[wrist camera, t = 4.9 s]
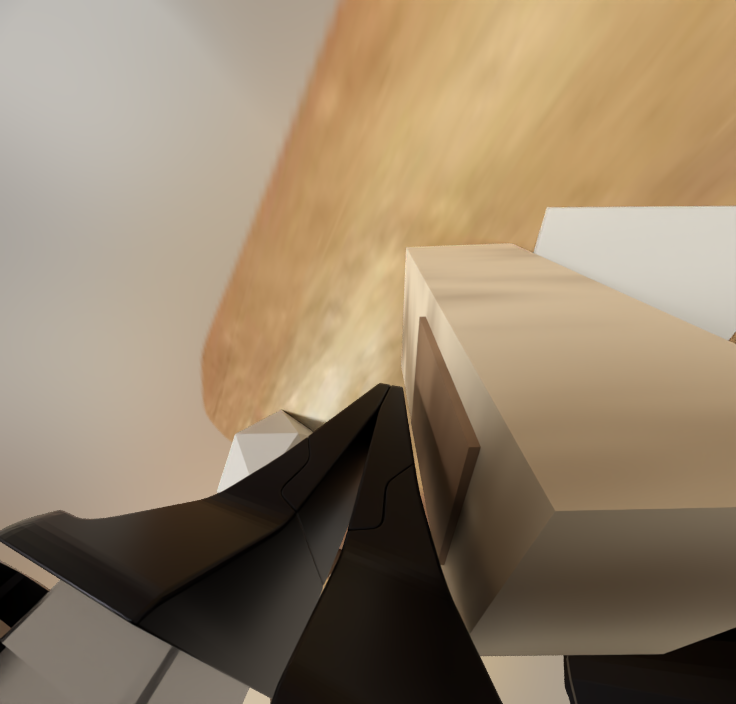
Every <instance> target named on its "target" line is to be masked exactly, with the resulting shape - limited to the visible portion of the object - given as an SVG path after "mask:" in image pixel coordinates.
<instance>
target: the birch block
mask: <svg viewBox="0 0 736 704" xmlns="http://www.w3.org/2000/svg"><path fill="white" fill-rule="evenodd" d="M401 367H402V372H403V378H404V383H405V389H406V394H407V400H408V405H409V411H410V416H411V424H412V430H413V436H414V441H415V447H416V452H417V458H418V463H419V469H420V475H421V480H422V486H423V491H424V497H425V502H426V508H427V513H428V519H429V525H430V530H431V535H432V538H433V541H434V545H435V548H436V551H437V555H438V558H439V561H440V565H441V568H442V571H443V574H444V577H445V580H446V583H447V585H448V588H449V591H450V593H451V596H452V598H453V601H454V603H455V605H456V607H457V609H458V611H459V613H460V616H461V618H462V620H463V622H464V624H465V626H466V628H467V630H468V632H469V634H470V637H471V639H472V641H473V643H474V645H475V647H476V649H477V651H478V653H479V655H480V656H537V655H626V654H665V653H667V652H670V651H673V650H675V649H678V648H681V647H684V646H686V645H689V644H692V643H695V642H697V641H700V640H703V639H705V638H708V637H711V636H714V635H716V634H719V633H722V632H725V631H727V630H730V629H733V628H735V627H736V344H734V343H732V342H730V341H728V340H726V339H723V338H721V337H719V336H717V335H714V334H712V333H710V332H708V331H706V330H703V329H701V328H699V327H697V326H694V325H692V324H690V323H688V322H686V321H683V320H681V319H679V318H677V317H674V316H672V315H670V314H668V313H666V312H663V311H661V310H659V309H657V308H655V307H652V306H650V305H648V304H646V303H643V302H641V301H639V300H637V299H635V298H632V297H630V296H628V295H626V294H623V293H621V292H619V291H617V290H615V289H612V288H610V287H608V286H606V285H603V284H601V283H599V282H597V281H595V280H592V279H590V278H588V277H586V276H583V275H581V274H579V273H577V272H575V271H572V270H570V269H568V268H566V267H563V266H561V265H559V264H557V263H555V262H552V261H550V260H548V259H546V258H543V257H541V256H539V255H537V254H535V253H532V252H530V251H528V250H526V249H523V248H521V247H519V246H517V245H515V244H512V243H505V244H478V245H451V246H425V247H406V264H405V288H404V312H403V336H402V360H401Z"/></svg>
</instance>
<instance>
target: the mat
mask: <svg viewBox="0 0 736 704" xmlns="http://www.w3.org/2000/svg"><path fill="white" fill-rule="evenodd" d="M533 253H535V254H537V255H539V256H541V257H543V258H546V259H548V260H550V261H552V262H555V263H557V264H559V265H561V266H563V267H566V268H568V269H570V270H572V271H575V272H577V273H579V274H581V275H583V276H586V277H588V278H590V279H592V280H595V281H597V282H599V283H601V284H603V285H606V286H608V287H610V288H612V289H615V290H617V291H619V292H621V293H623V294H626V295H628V296H630V297H632V298H635V299H637V300H639V301H641V302H643V303H646V304H648V305H650V306H652V307H655V308H657V309H659V310H661V311H663V312H666V313H668V314H670V315H672V316H674V317H677V318H679V319H681V320H683V321H686V322H688V323H690V324H692V325H694V326H697V327H699V328H701V329H703V330H706V331H708V332H710V333H712V334H714V335H717V336H719V337H721V338H723V339H726V340H729V339H730V338H731V337H732V335H733V334H734V333H735V332H736V206H646V207H547V208H546V211H545V215H544V218H543V222H542V225H541V228H540V232H539V235H538V239H537V242H536V245H535V249H534V252H533Z"/></svg>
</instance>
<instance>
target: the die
mask: <svg viewBox="0 0 736 704" xmlns="http://www.w3.org/2000/svg"><path fill="white" fill-rule="evenodd" d="M312 433H313V431H311V430H310V429H308V428H307V427H305V426H304V425H303V424H301V423H300V422H298V421H297V420H295V419H294V418H293V417H291V416H290V415H288V414H287V413H285V412H284V411H283V410H280V411H278V412H276V413H274V414H272V415H270V416H268V417H266V418H265V419H263V420H261V421H259V422H257V423H255V424H253V425H251V426H249V427H248V428H246V429H244V430H242V431H240V432H238V433H236V434H235V437H234V440H233V443H232V446H231V449H230V452H229V456H228V459H227V462H226V465H225V468H224V471H223V475H222V477H221V480H220V484H219V487H218V490H217V492H218V493H219V492H221V491H223V490H225V489H227V488H229V487H230V486H232V485H234V484H235V483H237V482H239V481H240V480H242V479H243V478H245V477H247V476H248V475H250V474H252V473H253V472H255V471H257V470H258V469H260V468H262V467H263V466H265V465H266V464H268V463H270V462H271V461H273V460H274V459H276V458H277V457H279V456H281V455H282V454H284V453H285V452H287V451H288V450H289V449H291V448H292V447H294V446H295V445H297V444H298V443H299V442H301V441H302V440H303V439H305V438H306V437H308V436H309V435H310V434H312Z"/></svg>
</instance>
